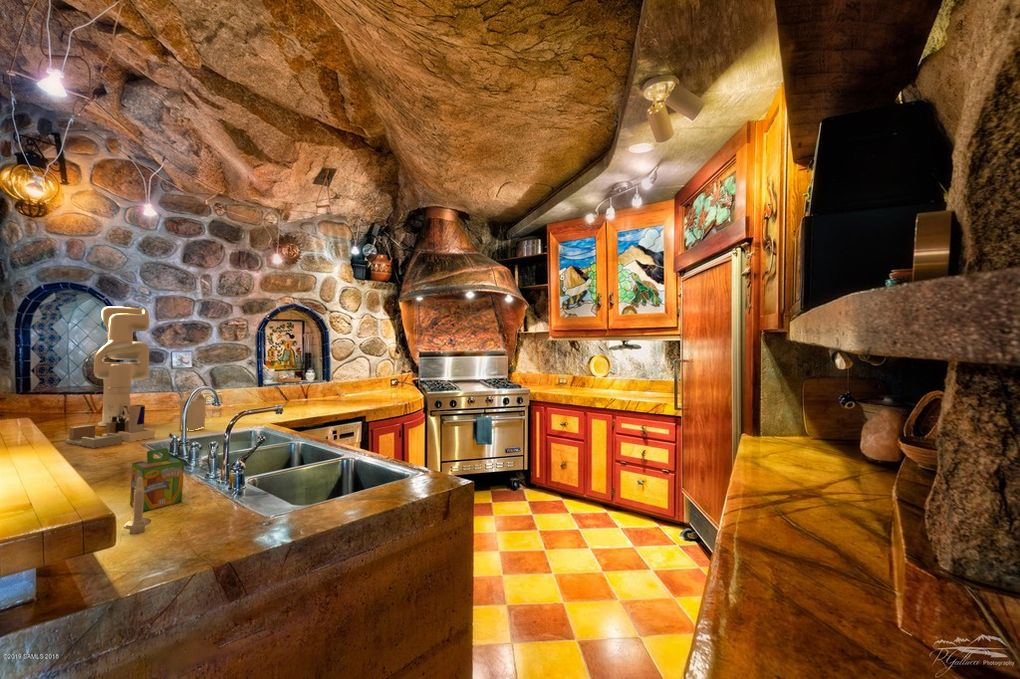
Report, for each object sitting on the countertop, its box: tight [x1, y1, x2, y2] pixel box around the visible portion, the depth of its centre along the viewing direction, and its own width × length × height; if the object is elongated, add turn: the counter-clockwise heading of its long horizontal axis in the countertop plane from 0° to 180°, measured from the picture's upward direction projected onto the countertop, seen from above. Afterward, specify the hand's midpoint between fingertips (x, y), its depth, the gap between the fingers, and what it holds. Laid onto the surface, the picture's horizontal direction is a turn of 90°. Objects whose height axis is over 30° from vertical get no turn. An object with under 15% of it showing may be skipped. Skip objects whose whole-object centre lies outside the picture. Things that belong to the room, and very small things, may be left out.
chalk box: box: [129, 447, 185, 512], centre depth 113 cm, size 9×9×15 cm
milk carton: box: [178, 390, 207, 432], centre depth 202 cm, size 7×7×19 cm
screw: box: [123, 477, 152, 535], centre depth 96 cm, size 13×5×5 cm
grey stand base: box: [65, 424, 123, 449], centre depth 172 cm, size 20×9×6 cm, turn 70°
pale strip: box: [101, 420, 156, 443], centre depth 183 cm, size 20×9×6 cm, turn 70°
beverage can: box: [128, 404, 146, 433], centre depth 181 cm, size 5×5×15 cm
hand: (117, 430), depth 186 cm, fingers closed on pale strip, 3 cm apart
